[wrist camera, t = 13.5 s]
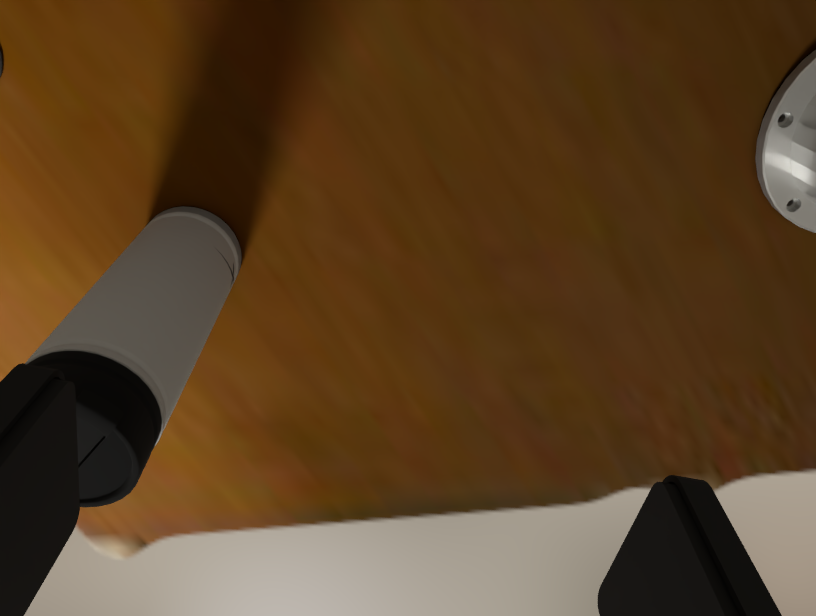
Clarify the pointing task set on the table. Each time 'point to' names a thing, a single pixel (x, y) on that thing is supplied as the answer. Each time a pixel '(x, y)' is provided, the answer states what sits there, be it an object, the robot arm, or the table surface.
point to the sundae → (0, 63)
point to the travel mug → (140, 343)
